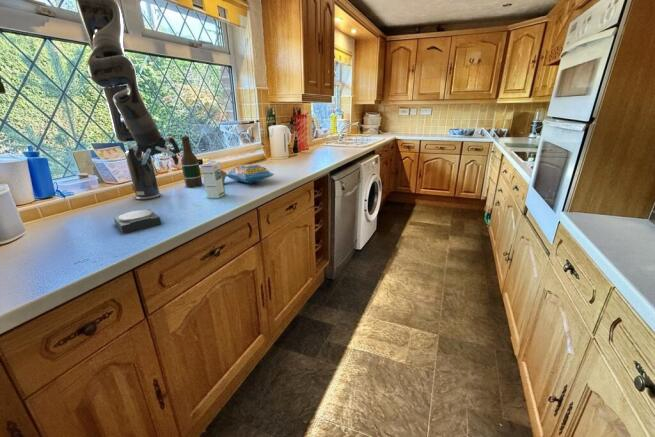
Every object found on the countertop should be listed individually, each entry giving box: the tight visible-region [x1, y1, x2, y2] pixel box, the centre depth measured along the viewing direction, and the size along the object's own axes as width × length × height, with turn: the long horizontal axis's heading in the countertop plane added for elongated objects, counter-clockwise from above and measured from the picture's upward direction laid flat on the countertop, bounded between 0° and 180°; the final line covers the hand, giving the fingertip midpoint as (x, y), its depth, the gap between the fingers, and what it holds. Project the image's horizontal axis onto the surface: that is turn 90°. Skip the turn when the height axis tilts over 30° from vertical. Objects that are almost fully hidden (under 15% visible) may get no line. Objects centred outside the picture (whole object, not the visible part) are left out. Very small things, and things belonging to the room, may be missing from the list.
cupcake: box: [211, 159, 228, 184], centre depth 151 cm, size 9×8×12 cm
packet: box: [226, 164, 275, 185], centre depth 153 cm, size 17×24×8 cm
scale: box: [113, 208, 162, 234], centre depth 101 cm, size 12×11×3 cm
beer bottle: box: [180, 135, 203, 188], centre depth 147 cm, size 8×8×24 cm
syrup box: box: [200, 161, 226, 199], centre depth 129 cm, size 6×6×14 cm
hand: (163, 166), depth 105 cm, fingers open, 8 cm apart
